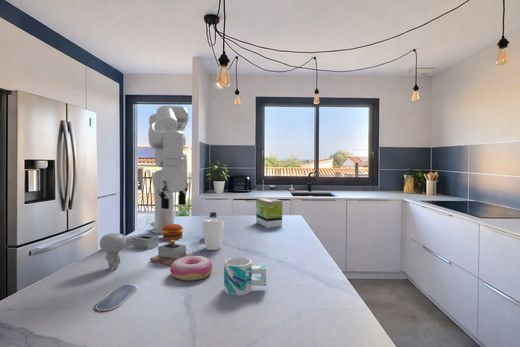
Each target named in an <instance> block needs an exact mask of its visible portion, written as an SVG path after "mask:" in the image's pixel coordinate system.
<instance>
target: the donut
mask: <svg viewBox="0 0 520 347" xmlns="http://www.w3.org/2000/svg"><path fill="white" fill-rule="evenodd" d="M212 270H213V263H212V261H211V259H210V258H208V257H205V256H202V255H194V256H187V257H182V258H179V259H177V260H175V261H174V262H173V263H172V265H170V268H169V271H170V274H171V275H172V277H174V278H176V279H177V280H181V281H199V280H201V279H204V278H207V277H208V276H209V275H210V274H211V273H212Z"/></svg>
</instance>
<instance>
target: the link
mask: <svg viewBox="0 0 520 347" xmlns="http://www.w3.org/2000/svg"><path fill="white" fill-rule="evenodd" d="M157 247H158V248H157V252H158V257H159V258H164V259H170V260H177V259H179V258H182V257H185V256H186V254H187V245H186V244H180V243H175V248H170V247H169V242H167V243H164V244H163V245H160V246H159V245H158V246H157Z"/></svg>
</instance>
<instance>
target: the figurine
mask: <svg viewBox="0 0 520 347" xmlns="http://www.w3.org/2000/svg"><path fill="white" fill-rule="evenodd" d="M126 245H127V238H126V237H125V236H124V235H123V234H122V233H119V232H111V233H108V234H107V233H106V234H104V235H103V236H102V237H100V240H99V247H100V250H101V251H103V252H104V253H106V254H105V260H106V261H107V262H108V263H107V265H108V268H110V269H113V270H117V269H118V268H119V264H121V256H120V254H119V252H121V251H123V250H124V249H125V248H126Z"/></svg>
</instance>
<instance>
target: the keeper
mask: <svg viewBox="0 0 520 347" xmlns="http://www.w3.org/2000/svg"><path fill="white" fill-rule="evenodd" d="M168 241H169V242H168V243H169V247H170V248H175V244H176V240H168ZM187 256H195V254H190V253H186V256H185V257H187ZM149 261H150V262H151V263H157V264H163V265H168V266H171V265H172V263H173V262H174V261H175V260H170V259H164V258H159V257H158V255H155V256H152V257H150V259H149Z"/></svg>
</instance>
